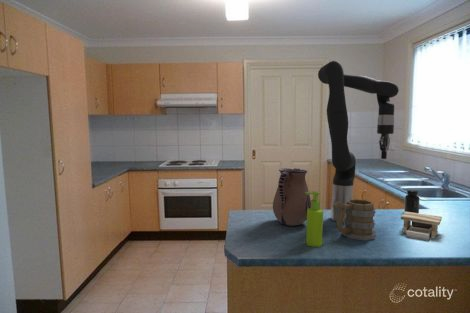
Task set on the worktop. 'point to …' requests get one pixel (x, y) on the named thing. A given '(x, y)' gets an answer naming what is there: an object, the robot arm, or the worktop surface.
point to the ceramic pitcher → (291, 197)
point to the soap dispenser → (314, 222)
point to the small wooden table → (421, 222)
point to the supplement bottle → (412, 201)
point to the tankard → (356, 219)
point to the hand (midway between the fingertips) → (383, 158)
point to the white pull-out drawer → (418, 233)
